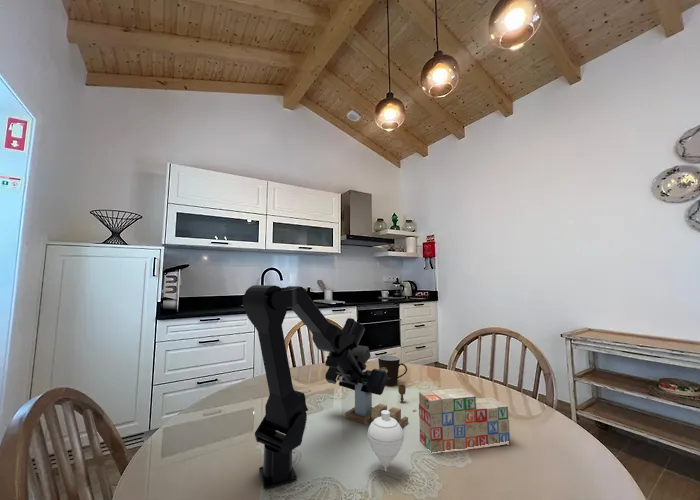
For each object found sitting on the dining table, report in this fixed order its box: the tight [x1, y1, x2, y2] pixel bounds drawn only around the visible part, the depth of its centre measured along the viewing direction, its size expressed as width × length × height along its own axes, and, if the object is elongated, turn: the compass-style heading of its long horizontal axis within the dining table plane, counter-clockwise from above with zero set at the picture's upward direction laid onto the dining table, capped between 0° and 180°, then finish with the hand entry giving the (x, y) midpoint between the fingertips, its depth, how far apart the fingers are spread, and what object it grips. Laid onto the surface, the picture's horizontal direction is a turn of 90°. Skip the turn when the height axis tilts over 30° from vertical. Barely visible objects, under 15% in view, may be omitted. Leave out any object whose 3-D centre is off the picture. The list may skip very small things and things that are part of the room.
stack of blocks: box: [418, 387, 511, 454], centre depth 75 cm, size 21×6×12 cm, turn 102°
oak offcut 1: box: [370, 402, 388, 424], centre depth 86 cm, size 5×2×4 cm, turn 146°
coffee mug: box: [377, 354, 408, 388], centre depth 117 cm, size 12×9×10 cm
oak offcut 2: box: [388, 406, 402, 422], centre depth 84 cm, size 5×2×4 cm, turn 146°
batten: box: [354, 370, 373, 417], centre depth 89 cm, size 4×4×12 cm
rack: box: [344, 406, 409, 429], centre depth 86 cm, size 8×16×2 cm, turn 56°
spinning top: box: [367, 409, 405, 472], centre depth 64 cm, size 8×8×12 cm
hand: (365, 391), depth 91 cm, fingers closed on batten, 3 cm apart
